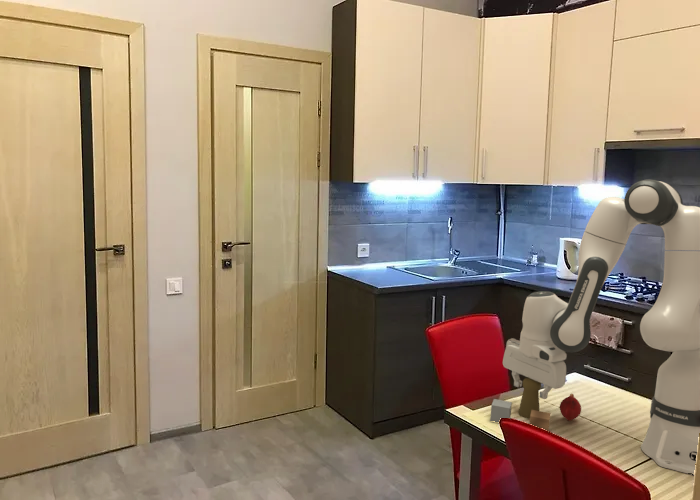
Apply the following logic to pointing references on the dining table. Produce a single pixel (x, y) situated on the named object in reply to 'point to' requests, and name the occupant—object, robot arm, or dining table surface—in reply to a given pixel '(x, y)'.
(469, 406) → the dining table surface
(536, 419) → the walnut block
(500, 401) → the slate block
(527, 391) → the cork
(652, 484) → the dining table surface
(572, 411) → the onion
